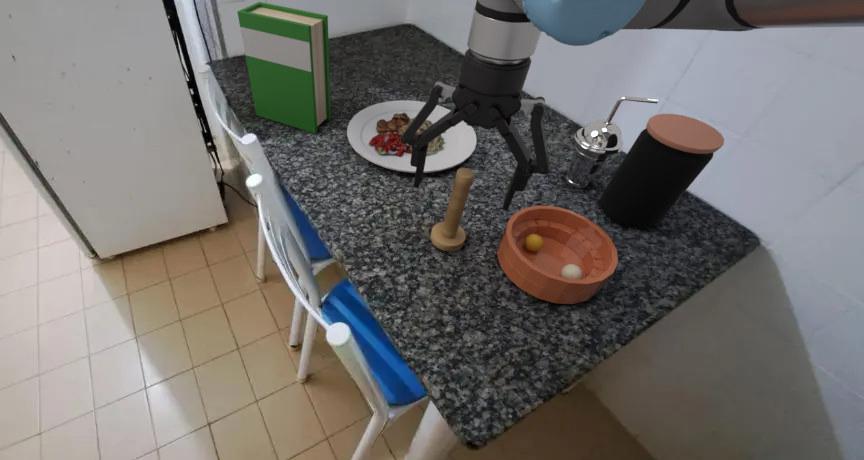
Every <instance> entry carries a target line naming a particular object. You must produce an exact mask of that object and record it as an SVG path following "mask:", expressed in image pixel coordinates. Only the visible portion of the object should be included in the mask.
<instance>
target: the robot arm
mask: <svg viewBox="0 0 864 460" xmlns="http://www.w3.org/2000/svg"><path fill="white" fill-rule="evenodd" d="M856 27H857V28H859V27H860V28H861V27H864V0H476V2H475V6H474V9H473V14H472V17H471V25H470V28H469V33H468V38H467V43H466V45H467V47H468V49H466V51H465V52H464V57H463V62H462V66H461V72H460V76H459V80H458V84H457V85H456V86H452V85H449V84H446V82H445V80H444V79H442V78H439V79H437V80H436V81H435V83H434V85H433V87H432V89H431V91H430V95H429V98H428V99H427V101H425V102H426V104H425V105H424V106H423V108H422V109H421V110H420V112H419V113H418V114H417V116H416V117H415V118H414V120H413V121H412V122H411V124H410V125H409V126H408V128H407V129H406V130H405V132H404V134H403V136H402V137H401V142H402V143H403V144H409V145H410V146H411V147H412V154H411V161H410V164H411V166H414V167H416V173H414V179H413V180H414V181H413V186H412V187H413V188H414V189H419V187H420V185H421V183H422V181H423V177H424V173H423V172H424V166H425V161H426V155H427V149H428V143H429V142H431V141H432V140H434V139H435V138H436V137H438V136H439V135H441V134H442V133H444V132H445V131H446V130H448V129H449V128H451V127H454V126H455V125H457V124H458V123H460V122H461V121H464V122H465V123H467V125H468V126H472V127H479V128H481V129H484V130H488V131H491V129H495V128H496V130H497V131H498V133H499V135H500V136H501V137H502V138H503V139H504V141H505V143H506V145H507V147H508V148H509V150H510V152H511V154H512V156H513V157H514V160H515V161H516V163H517V164H516V166H515V169H514V172H513V174H512V177H511V180H510V183H509V185H508V188H507V191H506V193H505V196H504V199H503V203H502V210H503V211H509V208H510V206H511V203H512V201H513V198H514V196H515V193H516V191H517V192H521V193H523V192H524V191H525V190H526V187H527V185H528V183H529V180H530V179H531V178H532V177H533V174H536V173H537V174H540V175H547V174H548V173H549V170H550V169H549V168H550V156H549V150H548V144H547V138H546V132H545V127H544V119H543V115H544V111H545V103H546V99H545V98H544V97H543V96H537V97H535V99H527V98H522V92H523V88H524V85H525V82H526V80H527V75H528V74H529V70H530V68H531V65H532V58H531V57H532V56H534V54H535V52H536V49H537V47H538V43H539V41H540V37H541V35H542V32H543V33H545V35H546V36H547V37H551V38H552V39H553V40H555V41H556V42H558V43H560V44H563V45H567V46H573V47H581V46H582V47H583V46H589V45H592V44H595V43H596V42H598V41H602V40H603V39H605V38H608V37H610V36H613V35H615V34H616V33H618V32H619V31H621V30H655V29H656V30H688V31H689V30H693V31H718V32H748V31H752V30H762V29H781V28H782V29H788V28H789V29H793V28H794V29H796V28H856ZM448 98H451V100H452V102H453V104H454V106H455V107H453V108H452V109H450V110H451V111H450V112H449V113H448V114H446V115H445V116H444V117H442V118H441V119H439V120H438V121H437V122H435V123H434V124H433V125H431V126H430V127H429V128H427V129H426V130H424V131H423V132H422V133H420V134H419V133H418V135H417V134H415V133H416V132H417V131H418V129H419V128H420V127H421V125H422V124H423V123H424V122H425V120H426V119H427V118H428V117H429V115H430V114H431V113H432V111H433V110H434V109H435V107H436V105H438V103H444V102H446V100H447V99H448ZM519 111H522V112H523V113H524V117H525V118H526V119H528V120H530V121H529V126H530V128H529V129H530V132H531V138H532V144H533V149H534V155H535V159H533V157H532V154H531V153H530V151H529V150H528V147H527V146H526V143H525V142H524V140H523V138H522V137H521V134H520V132H519V130H518V129H517V127H516V125H515V122H514V119H513V116H514V115H516V114H517V113H518V112H519Z"/></svg>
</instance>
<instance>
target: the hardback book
mask: <svg viewBox="0 0 864 460" xmlns="http://www.w3.org/2000/svg"><path fill="white" fill-rule="evenodd" d="M236 13H237V17H238V24H239V28H240V29H239V30H240V34H241V39H242V46H243V49H244V55H245V61H246V67H247V71H248V76H249V78H248V79H249V82H250V87H251V94H252V99H253V104H254V109H255V115H256V116H259V117H261V118H264V119H268V120H271V121H274V122H277V123H281V124H283V125H287V126H290V127H293V128H295V129H296V128H297V129H299V130H302V131H306V132H308V133H312V134H315V135H316V134H317V133H318V127H319V126H320V125H321V124H322V123H323V122H324V121H327V122H330V121H331V120H332V107H331V103H332V102H331V77H330V75H331V74H330V45H329V17H328V15H327V14H322V13H318V12H313V11H307V10H303V9H298V8H294V7H293V8H292V7H287V6H283V5H278V4H272V3H267V2H262V1H258V2H255V3H254V4H250V5H248V6H246V7H244V8H242V9H240V10H237V12H236Z"/></svg>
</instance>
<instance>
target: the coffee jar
mask: <svg viewBox="0 0 864 460" xmlns="http://www.w3.org/2000/svg"><path fill="white" fill-rule="evenodd" d="M724 143H725V138H724V137H723V134H722V133H721V132H719V130H718V129H716V128H715V127H713V126H711V125H710V124H708V123H706V122H704V121H703V120H702V121H701V120H699V119H697V118H694V117H691V116H686V115H682V114H677V113H659V114H654V115H653V116H651V117H649V119H648V121H647V124H646V126H645V128H644V129H643V130H642V131H640V133H639V134H638V136H637V137H636V139H635V141H634V142H633V144H632V146H631V147H630V149H629V150H628V152H627V153H626V155H625V157H624V158H623V160H622V161H621V163H620V165H619V166H618V168H617V169H616V171H615V173H614V174H613V176H612V177H611V179H610V180H609V182H608V184H607V185H606V187H605V189H604V190H603V191H602V194H601V196H600V204H601V205H600V206H601V209H602V211H603V212H604V214H605V215H606V216H607V217H608V218H609V219H610V220H612V221H615V222H616V223H618V224H619V225H622V226H625V227H629V228H633V229H646V228H650V227H653V226H655V225H657V224H659V223H660V222H661V221H662V220H663V219H664V218H665V216H666V215H667V214H668V212H669V211H670V210H671V209H672V208H673V207H674V206H675V204H676V203H677V202H678V200H679V199H680V198H681V197H682V195H684V193H685V192H686V191H687V190H688V189H689V187H690V186H691V185H692V183H693V182H694V181H695V180H696V179H697V178H698V176H699V175H700V174H701V173H702V171H704V169H705V168H706V167H707V165H708V164H709V163H710V162H711V161H712V159H713V158H714V153H716V152H717V151H718V150H720V149H721V148H722V147H723V146H724Z"/></svg>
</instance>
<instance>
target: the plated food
mask: <svg viewBox="0 0 864 460" xmlns="http://www.w3.org/2000/svg"><path fill="white" fill-rule="evenodd" d="M426 102H427V101H420V100H419V101H418V100H409V99H408V100H404V99H403V100H402V99H401V100H400V99H399V100H398V99H397V100H387V101H383V102H379V103H378V102H377V103H375V104H373V105H369V106H367V107H365V108H363V109H361V110H359V111H358V112H357V113H356V114H354V115H353V117H352V118H351V119H350V120H349V122H348V126H347V127H346V130H347V131H346V132H347V133H346V134H347V135H346V137H347V140H348V143H349V145H350V146H351V147H352V149H353V150H354V151H355V152H356V153H357V154H358V155H359V156H361V157H362V158H364V159H365V160H367V161H369V162H370V163H372V164H375V165H377V166H380V167H382V168H385V169H388V170H392V171H396V172H402V173H411V174H416V167H414V166H411V164H410V161H411V154H412V147H411V146H410V145H409V144H403V143H402V142H401V137H402V136H403V134H404V132H405V130H406V129H407V128H408V126H409V125H410V124H411V122H412V121H413V120H414V118H415V117H416V116H417V114H418V113H419V112H420V110H421V109H422V108H423V106H424V105H425V104H426ZM451 110H452V109H449V108H447V107H444V106H441V105H438V104H437V105H436V107H435V109H434V110H433V111H432V113H431V114H430V115H429V117H428V118H427V119H426V120H425V122H424V123H423V124H422V125H421V127H420V128H419V129H418V131H417V132H416V133H415V134H417V135H418V133H419V134H420V133H422V132H423V131H424V130H426V129H427V128H429V127H430V126H431V125H433V124H434V123H435V122H437V121H438V120H439V119H441V118H442V117H444V116H445V115H446V114H448V113H449V112H450V111H451ZM477 144H478V143H477V134H476V131H475V129H474V127H473V126H468V125H467V123H465V122H464V121H461V122H460V123H458V124H457V125H455V126H454V127H451V128H449V129H448V130H446V131H445V132H444V133H442V134H441V135H439V136H438V137H436V138H435V139H434V140H432V141H431V142H429V143H428V149H427V155H426V161H425V166H424V172H423V174H427V173H435V172H441V171H445V170H449V169H452V168H454V167H457V166H459V165H461V164H462V163H464V162H465V161H466V160H468V159H470V157H471V156H472V154H473V153H474V152H475V149H476V146H477Z"/></svg>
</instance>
